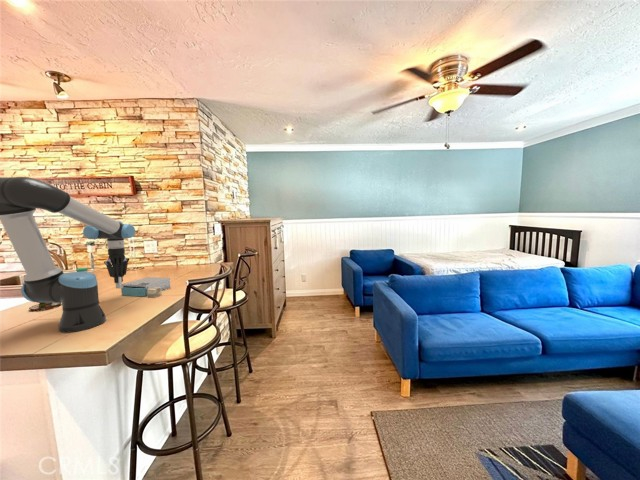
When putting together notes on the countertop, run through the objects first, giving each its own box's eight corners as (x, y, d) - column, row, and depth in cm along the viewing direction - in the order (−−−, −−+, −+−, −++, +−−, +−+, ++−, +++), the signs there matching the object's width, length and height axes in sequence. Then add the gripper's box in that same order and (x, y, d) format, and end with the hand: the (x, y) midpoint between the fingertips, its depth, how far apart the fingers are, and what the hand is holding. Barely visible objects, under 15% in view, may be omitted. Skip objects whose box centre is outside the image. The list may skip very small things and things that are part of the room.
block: (155, 297, 146) (154, 289, 146) (148, 297, 147) (147, 289, 147) (162, 295, 151) (161, 287, 151) (155, 294, 152) (154, 287, 152)
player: (146, 296, 149) (145, 285, 149) (122, 295, 153) (121, 283, 152) (170, 288, 167) (169, 277, 166) (148, 287, 171) (147, 277, 170)
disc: (151, 287, 157) (151, 285, 156) (136, 291, 151) (136, 288, 151) (149, 285, 162) (149, 283, 162) (134, 288, 157) (134, 286, 157)
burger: (54, 303, 141) (52, 290, 140) (67, 305, 137) (65, 292, 136) (23, 311, 129) (21, 297, 129) (37, 313, 126) (35, 299, 125)
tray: (144, 296, 148) (143, 288, 148) (121, 295, 152) (121, 287, 151) (166, 288, 165) (166, 281, 164) (145, 287, 168) (145, 280, 168)
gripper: (109, 249, 135) (112, 291, 136) (132, 246, 147) (134, 285, 149) (98, 249, 136) (102, 290, 138) (122, 246, 149) (125, 285, 150)
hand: (119, 288), depth 143 cm, fingers closed
